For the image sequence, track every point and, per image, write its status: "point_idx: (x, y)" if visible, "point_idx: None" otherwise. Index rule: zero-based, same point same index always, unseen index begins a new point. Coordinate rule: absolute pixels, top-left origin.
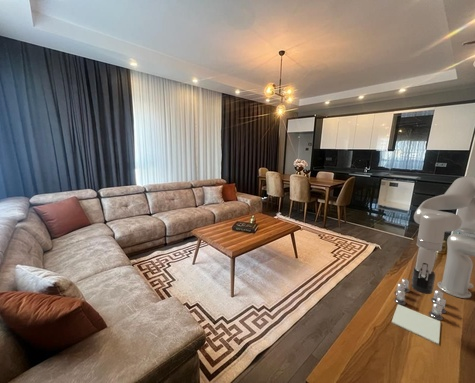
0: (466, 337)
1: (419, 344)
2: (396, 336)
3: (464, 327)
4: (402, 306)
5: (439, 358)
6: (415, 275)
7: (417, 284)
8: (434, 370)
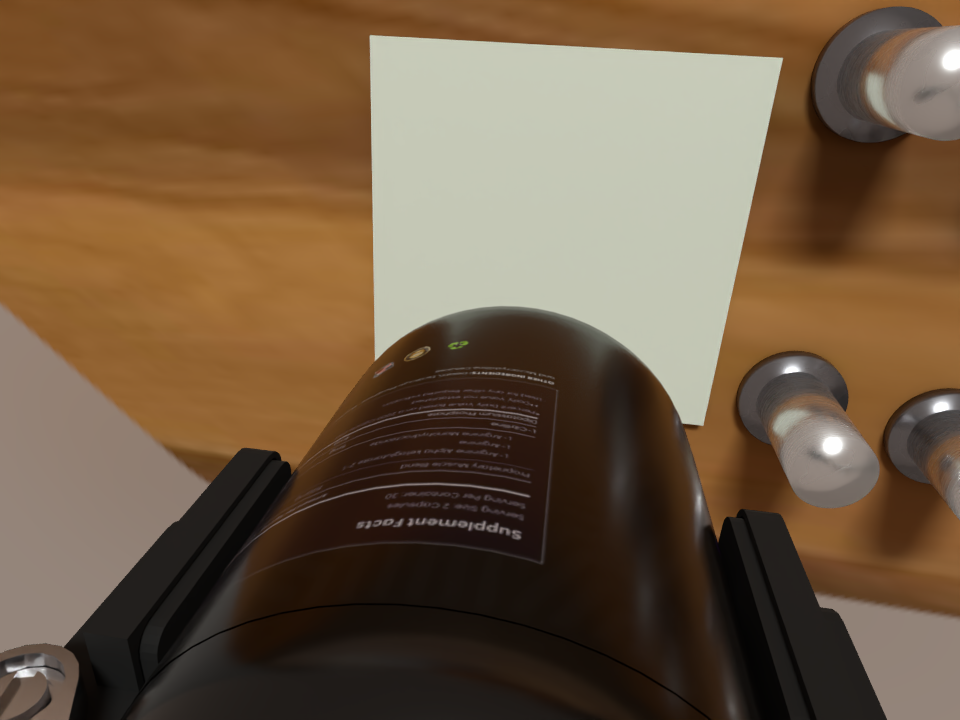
0: None
1: (271, 268)
2: (212, 102)
3: None
4: (758, 113)
5: (238, 375)
6: (242, 565)
7: (229, 478)
8: (102, 342)
